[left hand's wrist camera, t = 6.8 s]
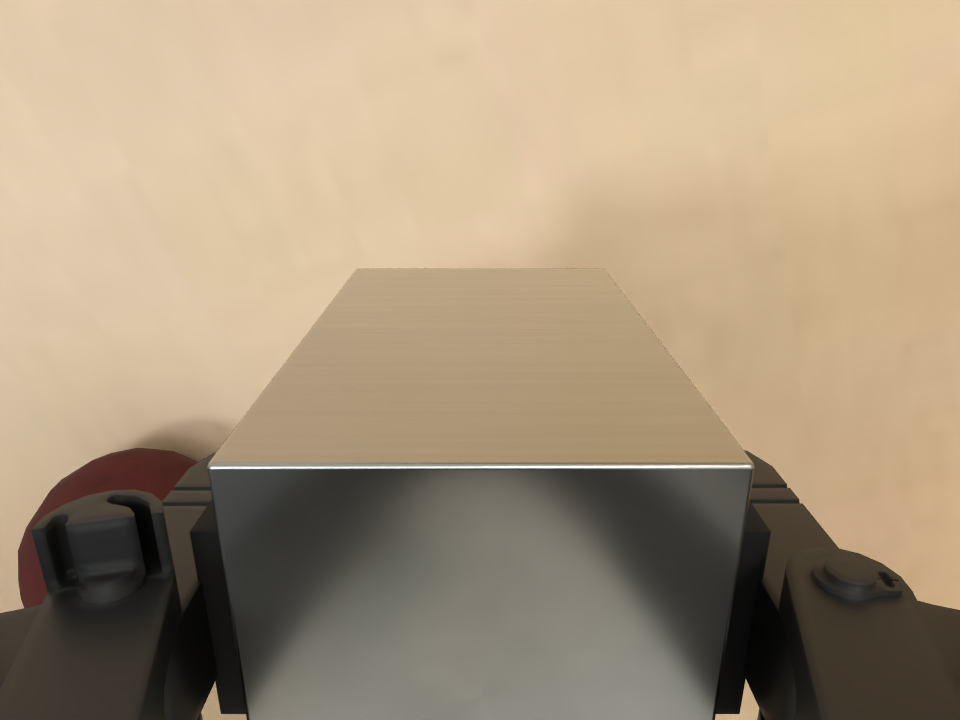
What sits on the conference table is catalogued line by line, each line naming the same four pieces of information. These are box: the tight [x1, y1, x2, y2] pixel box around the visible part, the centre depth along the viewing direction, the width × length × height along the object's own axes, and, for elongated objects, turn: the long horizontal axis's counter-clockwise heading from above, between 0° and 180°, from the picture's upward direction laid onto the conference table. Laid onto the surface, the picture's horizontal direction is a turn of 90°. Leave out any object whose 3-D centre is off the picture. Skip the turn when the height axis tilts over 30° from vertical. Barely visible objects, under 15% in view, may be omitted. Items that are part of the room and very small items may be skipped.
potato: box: [18, 448, 197, 608], centre depth 25 cm, size 7×8×7 cm
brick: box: [208, 269, 754, 720], centre depth 11 cm, size 5×6×8 cm
